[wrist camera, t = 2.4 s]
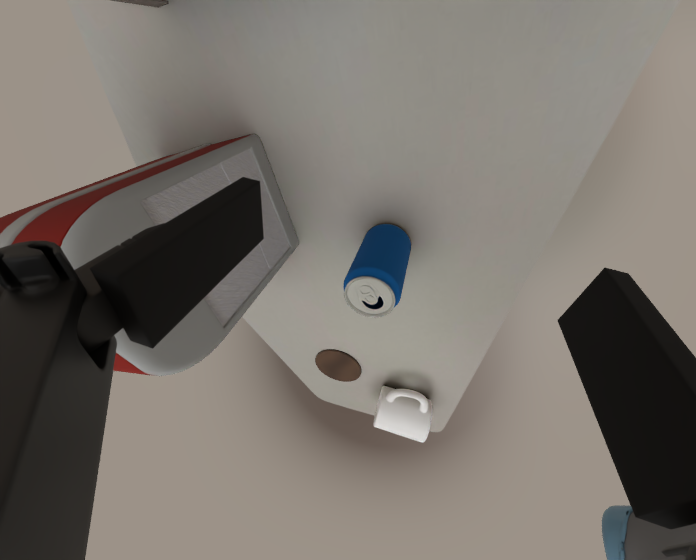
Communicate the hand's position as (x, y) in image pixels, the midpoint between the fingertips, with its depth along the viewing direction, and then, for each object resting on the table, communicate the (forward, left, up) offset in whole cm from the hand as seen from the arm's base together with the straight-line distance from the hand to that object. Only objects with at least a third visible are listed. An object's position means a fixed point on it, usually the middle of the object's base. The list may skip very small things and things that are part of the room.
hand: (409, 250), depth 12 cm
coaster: (+6, +47, -25) cm, 53 cm away
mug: (-9, +48, -25) cm, 55 cm away
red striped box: (+26, +15, -25) cm, 39 cm away
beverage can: (+2, +15, -25) cm, 29 cm away
